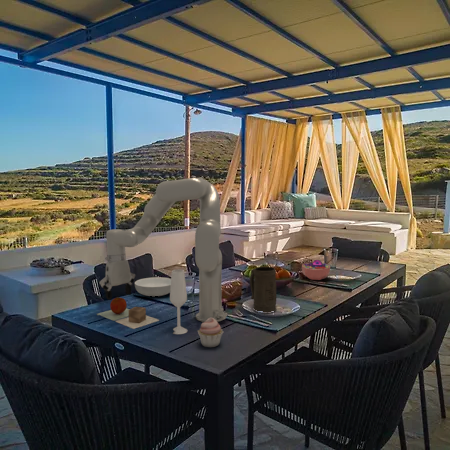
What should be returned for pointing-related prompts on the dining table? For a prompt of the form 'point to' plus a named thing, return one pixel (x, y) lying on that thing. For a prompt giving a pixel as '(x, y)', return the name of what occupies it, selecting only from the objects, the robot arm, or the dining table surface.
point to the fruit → (118, 305)
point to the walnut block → (137, 314)
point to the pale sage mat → (114, 314)
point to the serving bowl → (153, 286)
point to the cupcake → (210, 333)
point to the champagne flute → (178, 296)
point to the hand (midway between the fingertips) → (119, 296)
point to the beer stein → (263, 289)
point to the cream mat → (136, 325)
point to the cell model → (316, 270)
